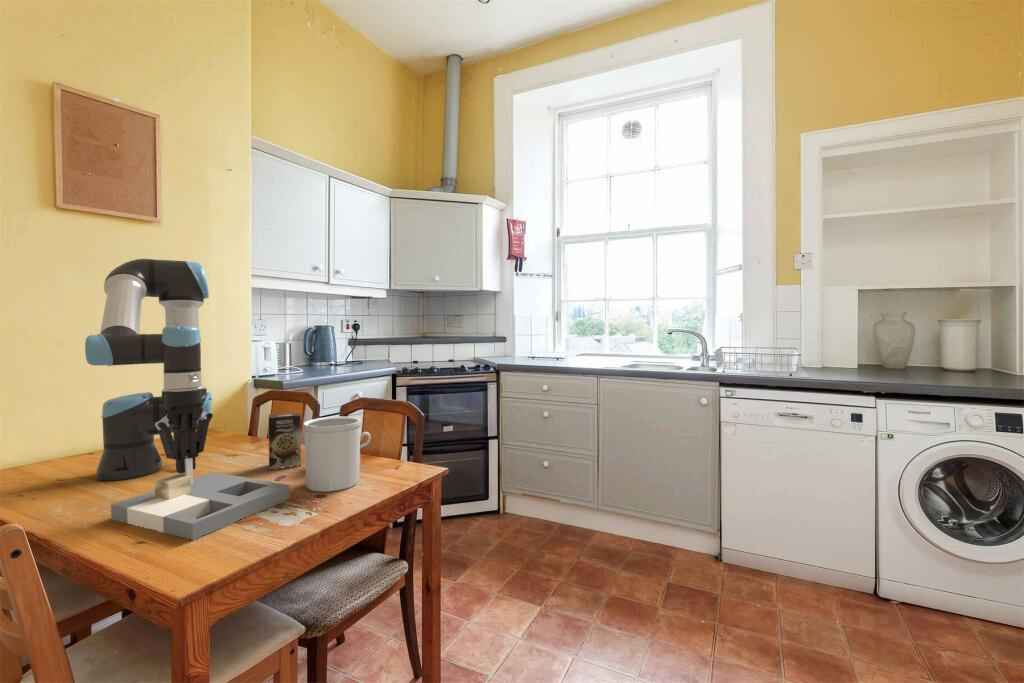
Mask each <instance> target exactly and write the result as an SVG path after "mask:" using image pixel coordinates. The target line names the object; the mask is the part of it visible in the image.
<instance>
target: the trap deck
mask: <svg viewBox="0 0 1024 683" xmlns="http://www.w3.org/2000/svg"><path fill="white" fill-rule="evenodd" d="M289 498H290V499H291V486H290V485H289V484H285V483H279V482H275V481H274V482H273V481H269V480H262V479H255V478H250V477H243V476H239V475H232V474H227V473H220V472H215V471H213V472H211V473H208V474H203V475H201V476H197V477H193V484H192V485H191V493H188V494H185V495H182V496H179V497H176V498H173V499H170V500H167V499H162V498H157V497H155V490H152V491H149V492H145V493H143V494H139V495H135V496H133V497H129V498H126V499H123V500H120V501H117V502H114V503H111V504H110V515H111V520H112V521H115V522H120V523H124V524H128V525H131V524H132V525H131V526H136V527H139V526H140V527H139V528H143V527H144V528H143V529H147V528H148V529H149V530H150V529H153V530H152V531H154V530H157V531H156V532H158V531H159V532H158V533H162V532H164V533H163V534H166V533H167V535H170V534H171V536H174V535H175V537H177V536H179V538H181V537H184V538H183V539H185V538H187V539H186V540H189V539H191V540H190V541H193V540H194V541H196V540H198V539H200V538H199V537H201V536H203V535H205V536H207V535H206V534H208V533H210V534H212V533H213V532H212V531H215V530H217V531H219V530H221V529H223V528H222V527H224V528H226V527H228V526H231V525H232V524H231V523H233V524H235V523H237V522H236V521H238V520H240V519H242V520H244V519H243V518H245V517H247V516H249V517H251V516H253V515H252V514H254V515H256V514H258V513H261V512H263V511H265V510H268V509H270V508H272V507H274V505H275V506H277V505H279V504H281V503H284V502H286V501H288V500H290V499H289ZM287 499H288V500H287ZM285 500H286V501H285ZM283 501H284V502H283ZM278 503H279V504H278ZM276 504H277V505H276ZM267 508H268V509H267ZM262 510H263V511H262ZM260 511H261V512H260ZM257 512H258V513H257ZM255 513H256V514H255ZM250 515H251V516H250ZM247 518H248V517H247ZM245 519H246V518H245ZM240 521H241V520H240ZM234 522H235V523H234ZM238 522H239V521H238ZM230 524H231V525H230ZM227 525H228V526H227ZM225 526H226V527H225ZM220 528H221V529H220ZM148 529H147V530H148ZM218 529H219V530H218ZM211 532H212V533H211ZM215 532H216V531H215ZM208 535H209V534H208ZM203 537H204V536H203ZM197 538H198V539H197ZM201 538H202V537H201ZM195 539H196V540H195Z"/></svg>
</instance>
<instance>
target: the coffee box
mask: <svg viewBox="0 0 1024 683" xmlns="http://www.w3.org/2000/svg"><path fill="white" fill-rule="evenodd" d="M301 422H302V420H301V413H300V412H289V413H286V412H285V413H276V414H275V413H274V414H268V470H269V469H273V470H276V469H275V468H281V467H289V466H297V465H301V466H302V426H301V425H302V423H301ZM297 467H298V466H297ZM289 468H290V467H289ZM281 469H282V468H281Z"/></svg>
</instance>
